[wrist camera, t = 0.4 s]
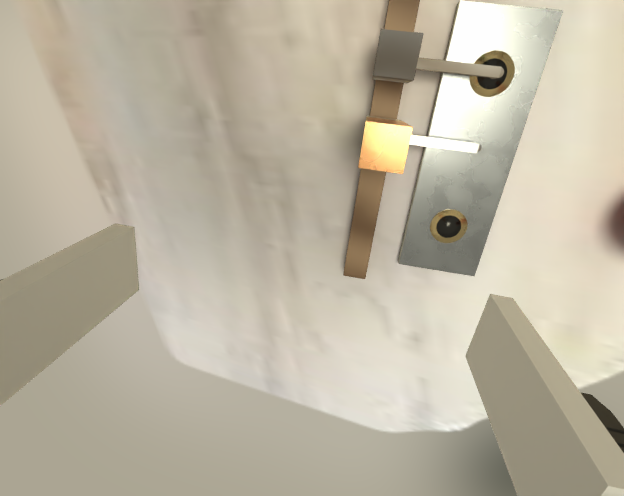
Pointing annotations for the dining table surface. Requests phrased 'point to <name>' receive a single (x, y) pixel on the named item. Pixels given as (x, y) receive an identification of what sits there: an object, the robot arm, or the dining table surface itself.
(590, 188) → the dining table surface
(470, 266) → the bolt plate
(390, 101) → the gauge rail
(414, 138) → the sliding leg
